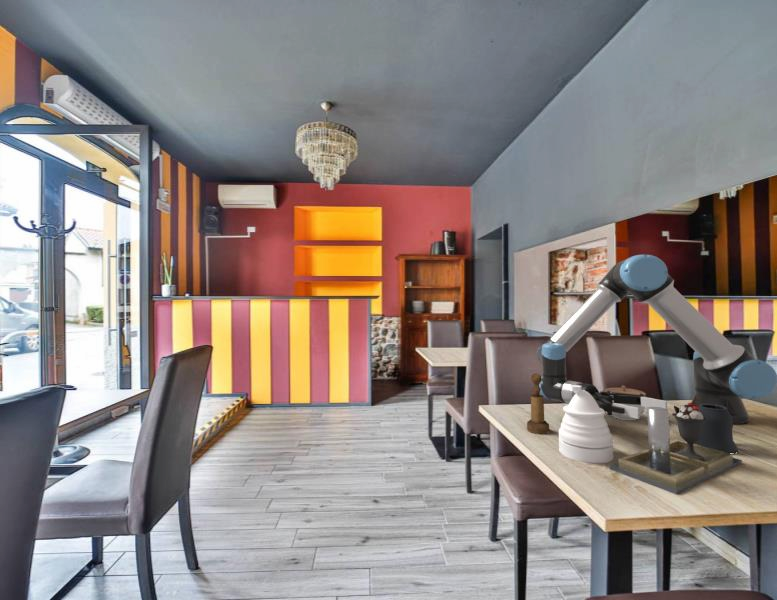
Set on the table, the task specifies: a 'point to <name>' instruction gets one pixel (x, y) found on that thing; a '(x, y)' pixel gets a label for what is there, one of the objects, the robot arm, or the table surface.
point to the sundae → (689, 427)
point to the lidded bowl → (629, 391)
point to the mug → (716, 428)
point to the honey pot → (585, 430)
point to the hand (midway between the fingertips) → (653, 409)
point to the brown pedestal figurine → (537, 409)
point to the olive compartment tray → (672, 459)
